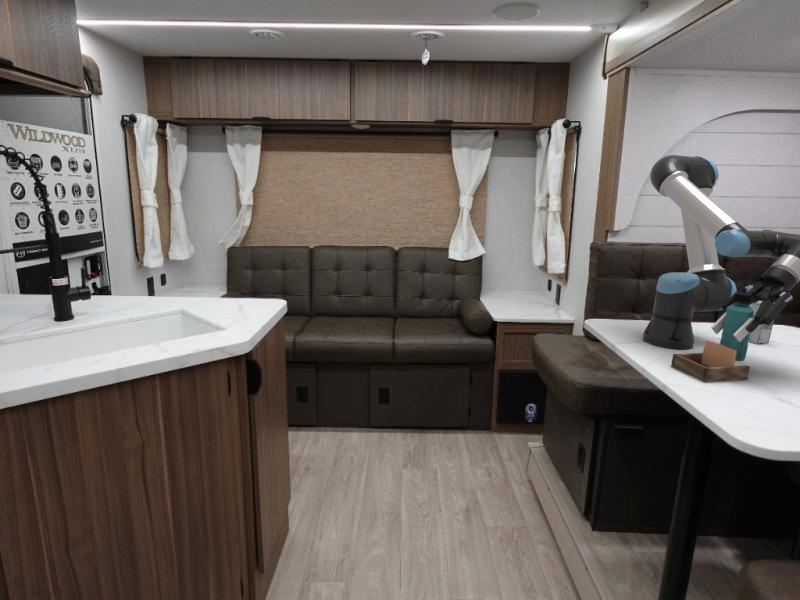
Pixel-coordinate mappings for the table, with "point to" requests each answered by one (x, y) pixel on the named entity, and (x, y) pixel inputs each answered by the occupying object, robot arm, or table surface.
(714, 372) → the wooden tray
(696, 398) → the table surface
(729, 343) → the beverage bottle
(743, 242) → the robot arm
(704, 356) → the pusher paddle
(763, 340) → the syrup box
